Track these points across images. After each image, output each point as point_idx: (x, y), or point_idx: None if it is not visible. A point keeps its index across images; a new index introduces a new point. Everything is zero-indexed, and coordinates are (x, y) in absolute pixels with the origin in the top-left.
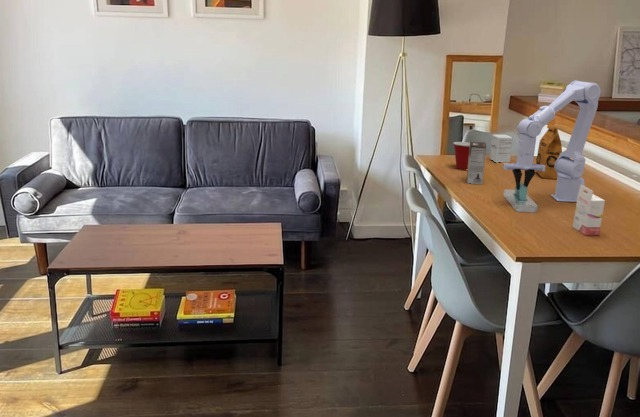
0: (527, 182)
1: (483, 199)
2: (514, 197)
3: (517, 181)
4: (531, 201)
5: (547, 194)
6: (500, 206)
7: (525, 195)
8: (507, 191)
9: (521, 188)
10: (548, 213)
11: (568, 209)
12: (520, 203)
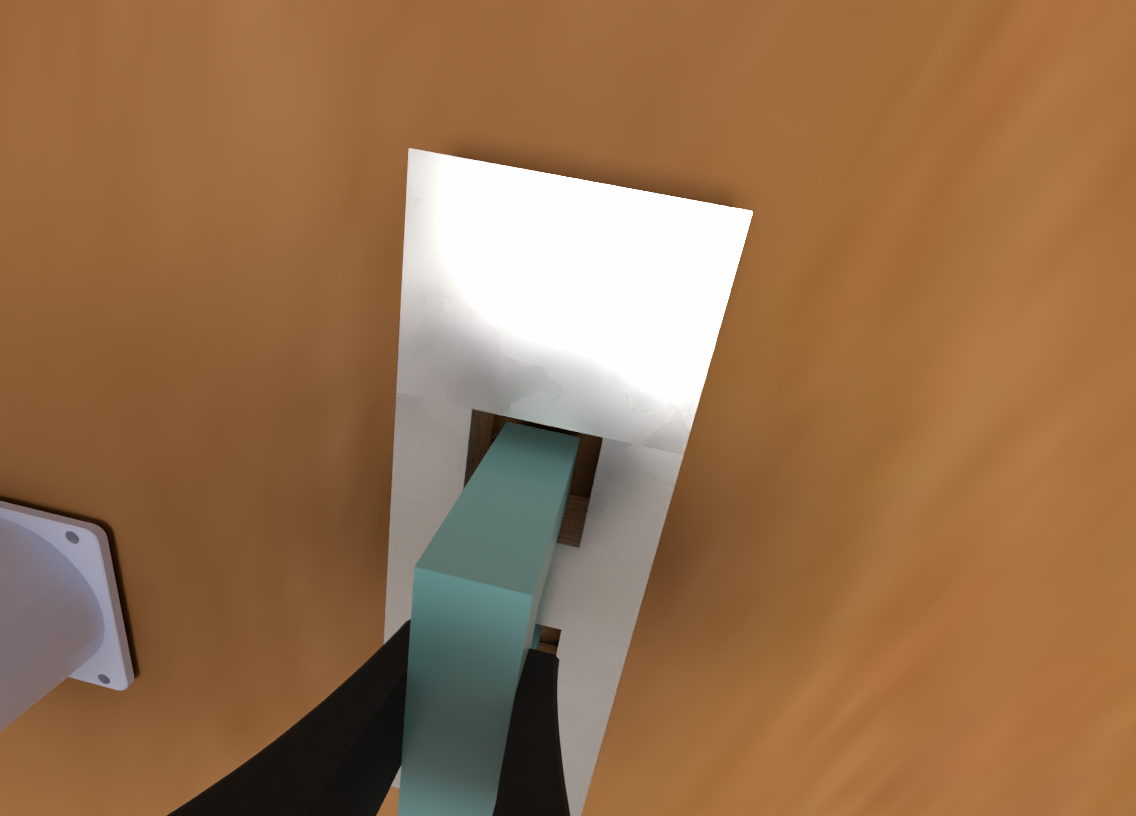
0: (341, 731)
1: (883, 713)
2: (599, 578)
3: (565, 810)
4: (430, 382)
5: (162, 713)
6: (833, 463)
7: (485, 482)
8: (573, 778)
9: (535, 591)
10: (304, 102)
11: (31, 260)
12: (652, 299)
